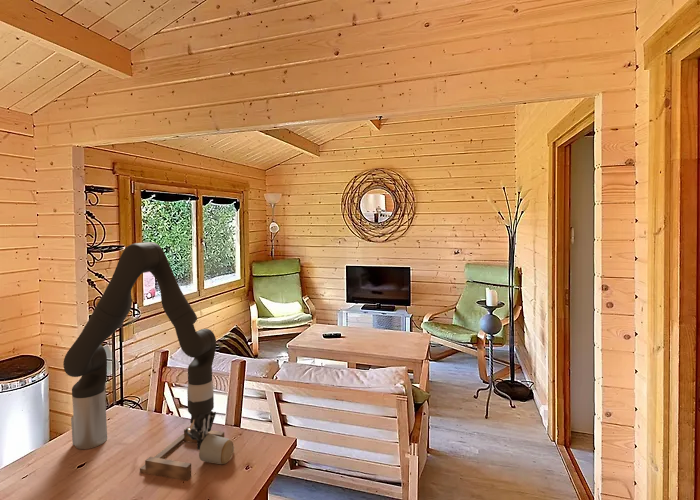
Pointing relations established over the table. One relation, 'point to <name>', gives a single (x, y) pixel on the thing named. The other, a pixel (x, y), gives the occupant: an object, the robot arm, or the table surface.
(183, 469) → the cradle
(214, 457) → the ceramic mug
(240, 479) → the table surface
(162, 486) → the table surface
